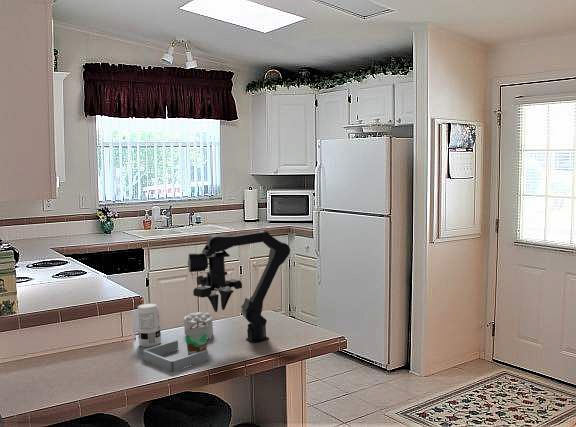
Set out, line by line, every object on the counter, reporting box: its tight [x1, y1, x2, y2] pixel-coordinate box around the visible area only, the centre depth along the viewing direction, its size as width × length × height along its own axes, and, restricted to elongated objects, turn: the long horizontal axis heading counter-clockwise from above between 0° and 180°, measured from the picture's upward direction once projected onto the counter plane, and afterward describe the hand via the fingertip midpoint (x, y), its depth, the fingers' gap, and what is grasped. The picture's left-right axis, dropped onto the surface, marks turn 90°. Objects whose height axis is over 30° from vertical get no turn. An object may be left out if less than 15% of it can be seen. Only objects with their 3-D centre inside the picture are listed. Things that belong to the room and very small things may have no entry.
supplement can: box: [136, 302, 162, 348], centre depth 227 cm, size 8×8×15 cm
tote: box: [141, 339, 208, 373], centre depth 208 cm, size 14×19×4 cm
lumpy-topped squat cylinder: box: [183, 311, 214, 339], centre depth 235 cm, size 10×13×9 cm
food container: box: [184, 320, 209, 356], centre depth 215 cm, size 12×6×10 cm, turn 168°
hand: (219, 310), depth 221 cm, fingers open, 3 cm apart
